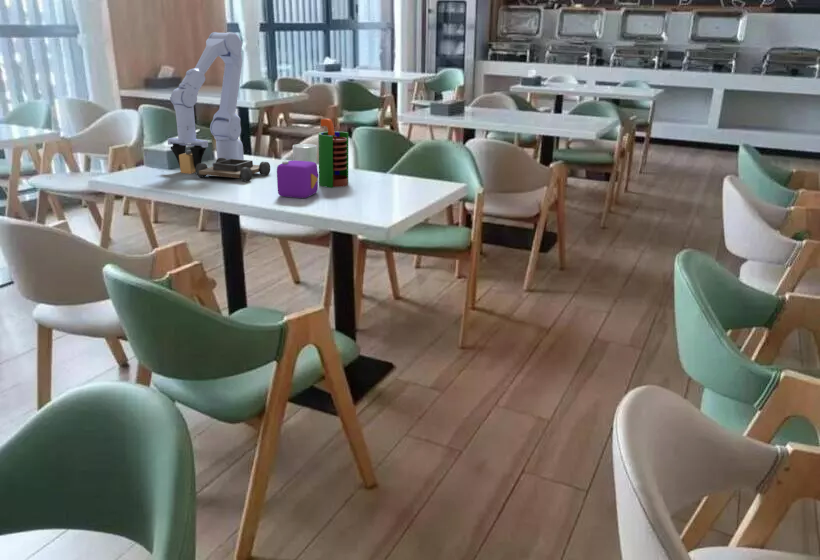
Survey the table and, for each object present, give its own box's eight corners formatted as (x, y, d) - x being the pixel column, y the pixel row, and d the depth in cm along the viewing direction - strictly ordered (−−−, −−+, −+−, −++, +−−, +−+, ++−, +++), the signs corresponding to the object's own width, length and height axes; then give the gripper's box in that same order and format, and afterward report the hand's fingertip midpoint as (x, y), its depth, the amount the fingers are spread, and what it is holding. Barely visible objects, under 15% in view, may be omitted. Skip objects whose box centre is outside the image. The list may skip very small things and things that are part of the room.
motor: (342, 188, 207) (341, 121, 200) (314, 186, 209) (312, 120, 202) (351, 182, 216) (351, 117, 210) (324, 180, 218) (323, 116, 211)
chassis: (224, 169, 232) (223, 156, 230) (271, 174, 226) (270, 160, 224) (195, 178, 218) (194, 163, 216) (244, 183, 212) (243, 168, 210)
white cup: (288, 176, 223) (287, 146, 219) (303, 172, 229) (302, 142, 226) (308, 179, 219) (307, 148, 216) (322, 175, 226) (321, 145, 222)
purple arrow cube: (323, 189, 205) (322, 156, 202) (312, 200, 193) (311, 164, 189) (288, 188, 206) (286, 155, 203) (275, 198, 193) (273, 163, 190)
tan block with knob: (190, 170, 230) (188, 149, 228) (200, 171, 229) (198, 150, 226) (180, 172, 226) (178, 151, 223) (190, 173, 224) (188, 152, 222)
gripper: (159, 126, 221) (164, 167, 225) (197, 129, 216) (200, 171, 221) (173, 123, 227) (177, 164, 232) (210, 126, 223) (213, 167, 227)
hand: (190, 167), depth 227 cm, fingers open, 5 cm apart
